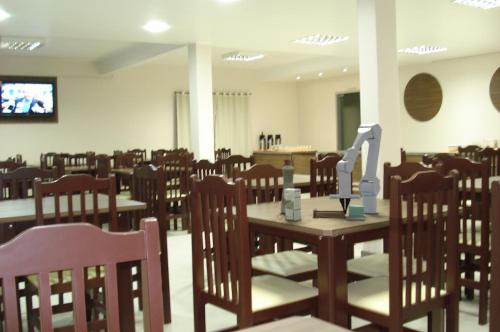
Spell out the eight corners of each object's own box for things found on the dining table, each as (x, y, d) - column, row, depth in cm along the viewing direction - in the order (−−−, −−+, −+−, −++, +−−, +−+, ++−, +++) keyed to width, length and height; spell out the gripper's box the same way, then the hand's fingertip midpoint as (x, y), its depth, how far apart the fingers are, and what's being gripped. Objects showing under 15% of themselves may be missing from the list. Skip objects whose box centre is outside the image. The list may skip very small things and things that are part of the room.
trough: (314, 214, 265) (314, 207, 264) (345, 215, 262) (345, 207, 262) (313, 217, 256) (313, 210, 256) (345, 217, 254) (345, 210, 254)
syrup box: (301, 219, 251) (301, 188, 251) (294, 221, 247) (293, 189, 246) (291, 218, 255) (291, 187, 254) (284, 219, 251) (283, 188, 250)
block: (348, 215, 259) (348, 205, 259) (363, 215, 258) (363, 205, 258) (348, 217, 256) (348, 206, 255) (363, 217, 254) (363, 206, 254)
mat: (346, 217, 253) (346, 216, 253) (363, 217, 252) (363, 216, 252) (346, 220, 245) (346, 219, 245) (364, 220, 244) (364, 219, 244)
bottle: (284, 211, 279) (283, 157, 278) (300, 212, 275) (299, 157, 274) (277, 213, 272) (276, 158, 270) (294, 214, 268) (293, 158, 266)
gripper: (329, 186, 254) (329, 215, 255) (360, 186, 252) (360, 215, 253) (329, 185, 261) (329, 213, 262) (360, 185, 259) (360, 213, 260)
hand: (345, 214), depth 258 cm, fingers closed
